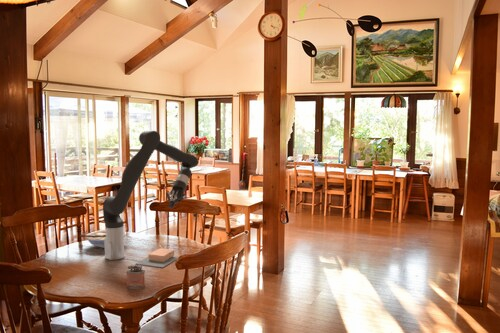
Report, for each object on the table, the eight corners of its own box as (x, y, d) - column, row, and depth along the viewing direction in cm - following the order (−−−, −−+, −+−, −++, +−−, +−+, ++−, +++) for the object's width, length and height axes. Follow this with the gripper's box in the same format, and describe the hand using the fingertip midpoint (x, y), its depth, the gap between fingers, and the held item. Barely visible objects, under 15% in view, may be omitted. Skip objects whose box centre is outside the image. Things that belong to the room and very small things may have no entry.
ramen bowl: (134, 241, 249) (134, 228, 248) (118, 253, 226) (118, 238, 226) (95, 240, 252) (95, 227, 251) (76, 251, 229) (75, 237, 228)
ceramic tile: (174, 256, 220) (163, 262, 210) (159, 254, 223) (148, 260, 213) (174, 250, 220) (163, 256, 209) (159, 248, 223) (148, 254, 212)
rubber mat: (162, 268, 203) (162, 267, 203) (135, 264, 208) (135, 263, 208) (178, 258, 218) (178, 257, 218) (153, 255, 223) (153, 254, 223)
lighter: (145, 285, 181) (145, 264, 180) (144, 288, 177) (143, 266, 176) (127, 285, 180) (127, 264, 179) (125, 288, 177) (125, 266, 176)
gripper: (168, 179, 239) (157, 203, 229) (188, 180, 235) (178, 204, 224) (173, 186, 245) (163, 210, 234) (193, 187, 240) (183, 212, 230)
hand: (170, 207), depth 229 cm, fingers closed
